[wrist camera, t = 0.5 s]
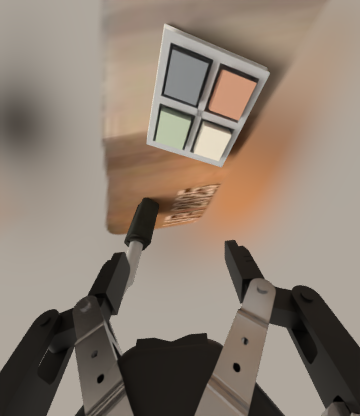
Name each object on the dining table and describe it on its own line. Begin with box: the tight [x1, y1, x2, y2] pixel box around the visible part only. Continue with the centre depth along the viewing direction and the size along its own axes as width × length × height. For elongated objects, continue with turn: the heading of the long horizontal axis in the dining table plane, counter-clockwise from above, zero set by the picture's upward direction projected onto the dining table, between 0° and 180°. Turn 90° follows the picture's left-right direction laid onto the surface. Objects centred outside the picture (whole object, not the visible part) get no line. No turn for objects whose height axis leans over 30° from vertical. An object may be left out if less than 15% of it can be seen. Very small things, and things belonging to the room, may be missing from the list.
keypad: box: [147, 24, 270, 167], centre depth 28 cm, size 16×16×5 cm
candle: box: [122, 198, 159, 299], centre depth 37 cm, size 5×5×25 cm
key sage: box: [155, 107, 191, 150], centre depth 28 cm, size 5×5×3 cm
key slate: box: [164, 50, 208, 105], centre depth 23 cm, size 5×5×3 cm
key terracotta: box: [208, 70, 257, 121], centre depth 24 cm, size 5×5×3 cm
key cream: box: [194, 120, 232, 161], centre depth 29 cm, size 5×5×3 cm
